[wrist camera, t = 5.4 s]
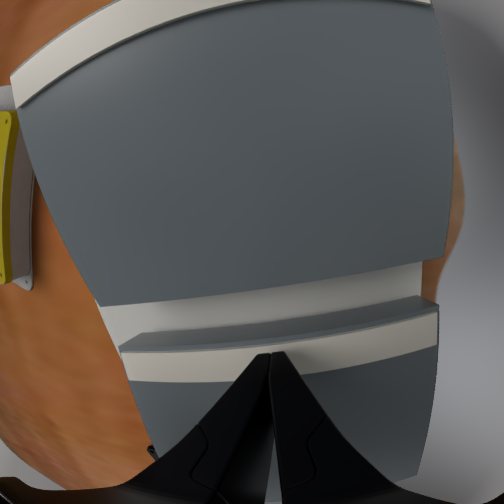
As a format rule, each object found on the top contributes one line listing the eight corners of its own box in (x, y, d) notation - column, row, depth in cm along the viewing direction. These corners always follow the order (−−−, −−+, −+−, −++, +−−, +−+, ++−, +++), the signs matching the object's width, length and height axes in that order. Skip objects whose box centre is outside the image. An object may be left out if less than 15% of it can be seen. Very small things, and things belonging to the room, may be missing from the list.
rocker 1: (417, 227, 9) (445, 260, 7) (120, 275, 11) (97, 310, 9) (390, -16, 4) (421, -36, 3) (47, 70, 6) (6, 75, 4)
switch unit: (389, 396, 15) (404, 437, 12) (179, 416, 17) (164, 455, 14) (357, 26, 9) (380, -11, 6) (80, 97, 11) (34, 87, 8)
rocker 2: (406, 452, 10) (417, 477, 8) (189, 472, 12) (177, 497, 10) (416, 294, 10) (441, 306, 8) (141, 332, 12) (115, 348, 9)
